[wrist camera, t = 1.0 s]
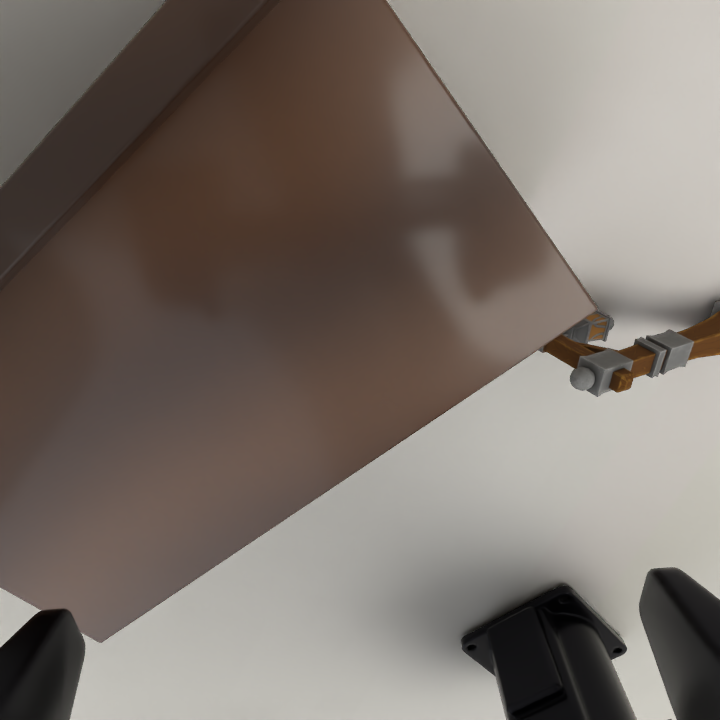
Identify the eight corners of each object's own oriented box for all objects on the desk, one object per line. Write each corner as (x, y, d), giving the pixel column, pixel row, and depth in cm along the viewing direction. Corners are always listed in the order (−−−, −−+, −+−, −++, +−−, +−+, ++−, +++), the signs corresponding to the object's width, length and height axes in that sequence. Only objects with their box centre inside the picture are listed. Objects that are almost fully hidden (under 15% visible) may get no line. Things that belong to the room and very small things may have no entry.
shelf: (517, 221, 19) (628, 341, 12) (158, 492, 25) (82, 690, 17) (315, -63, 15) (296, -148, 8) (-61, 334, 21) (-283, 505, 13)
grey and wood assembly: (500, 307, 20) (602, 368, 16) (662, 274, 23) (777, 319, 19) (493, 353, 21) (588, 421, 17) (650, 315, 24) (757, 366, 20)
